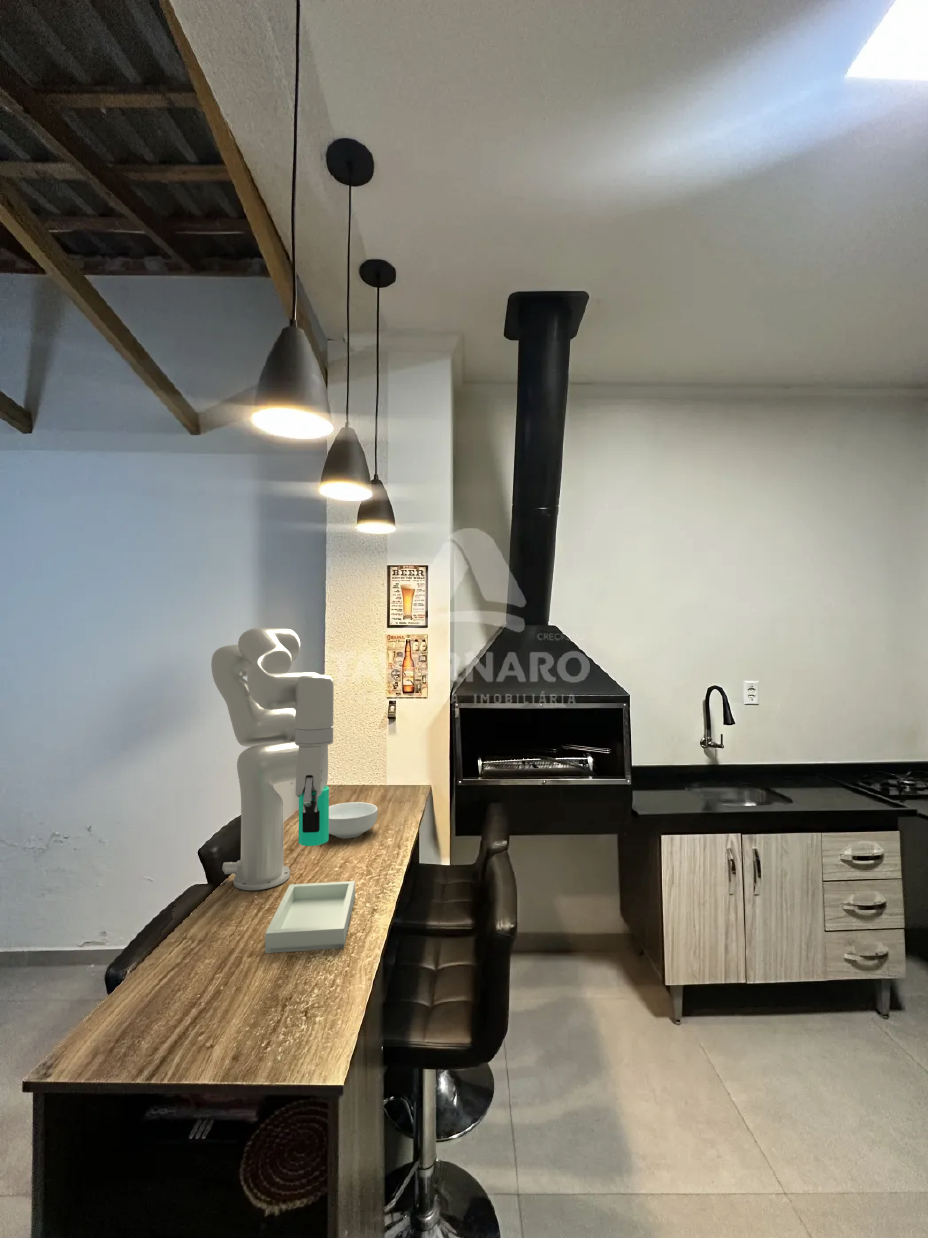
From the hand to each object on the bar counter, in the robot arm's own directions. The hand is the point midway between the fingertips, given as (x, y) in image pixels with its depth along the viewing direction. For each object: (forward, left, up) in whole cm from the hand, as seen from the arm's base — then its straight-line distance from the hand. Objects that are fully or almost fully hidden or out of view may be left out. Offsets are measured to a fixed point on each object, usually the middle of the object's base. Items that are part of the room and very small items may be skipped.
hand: (313, 826), depth 109 cm
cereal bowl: (+1, +51, -19) cm, 54 cm away
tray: (0, 0, -19) cm, 19 cm away
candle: (0, 0, -3) cm, 3 cm away
